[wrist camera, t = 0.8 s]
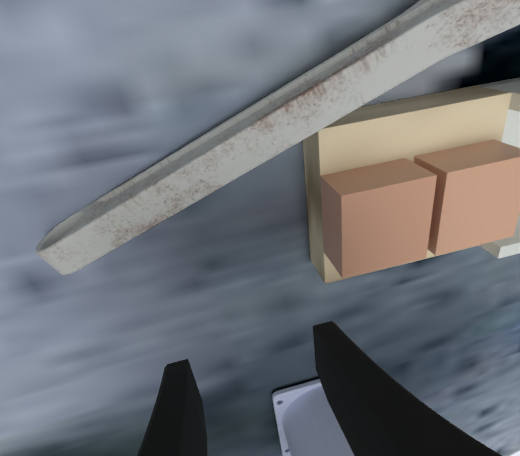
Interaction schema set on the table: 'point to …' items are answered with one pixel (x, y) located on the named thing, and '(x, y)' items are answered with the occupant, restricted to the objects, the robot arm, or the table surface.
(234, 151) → the wrench
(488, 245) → the tray
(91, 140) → the table surface
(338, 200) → the tile
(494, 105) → the board
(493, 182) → the tile
